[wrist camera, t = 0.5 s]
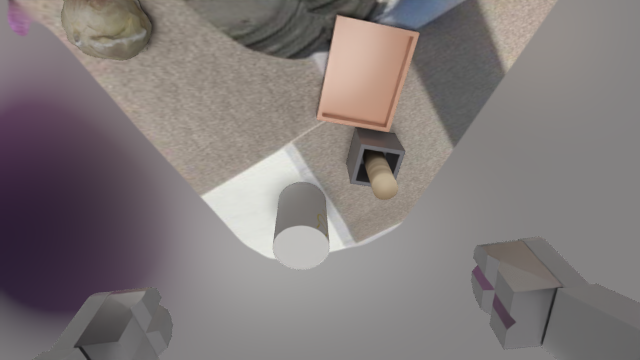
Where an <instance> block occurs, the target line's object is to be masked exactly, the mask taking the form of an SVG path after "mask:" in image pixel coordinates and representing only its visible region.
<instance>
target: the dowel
mask: <svg viewBox="0 0 640 360" xmlns="http://www.w3.org/2000/svg"><path fill="white" fill-rule="evenodd" d="M362 158H363V161H364V164H365V168H366V171H367V174H368V177H369V180H370V183H371V186H372V189H373V193H374V195H375V196H376V197H377V198H378V199H381V200H388V199H391V198H392V197H394V196H395V195H396V193H397V191H398V185H397V182H396V180H395V178H394V176H393V174H392V171H391V169H390V167H389V165H388V163H387V160H386V158H385V156H384V154H383V152H382V151H376V150H370V149H364V152H363V156H362Z"/></svg>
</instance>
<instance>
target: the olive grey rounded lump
mask: <svg viewBox="0 0 640 360" xmlns="http://www.w3.org/2000/svg"><path fill="white" fill-rule="evenodd" d="M64 1H65V2H64V5H63V9H62V12H61V21H62V26H63V28H64V30H65V32H66V34H67V38H68V40H69V42H71V43H72V44H74V45H75V46H77V47H78V48H79V49H80V50H81V51H82V52H83V53H85V54H87V55H90V56H93V57H99V58H104V59H114V60H127V59H130V58H132V57H134V56H136V55H138V54H139V53H141V52H144V51H147V50H148V45H147V42H148V40H149V38H150V35H151V30H152V27H151V23H150V21H149V18H148V17H147V15H146V14H145V13H144V12H143V10H142V8H141V6H140V4H139V2H138V0H64Z"/></svg>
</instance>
